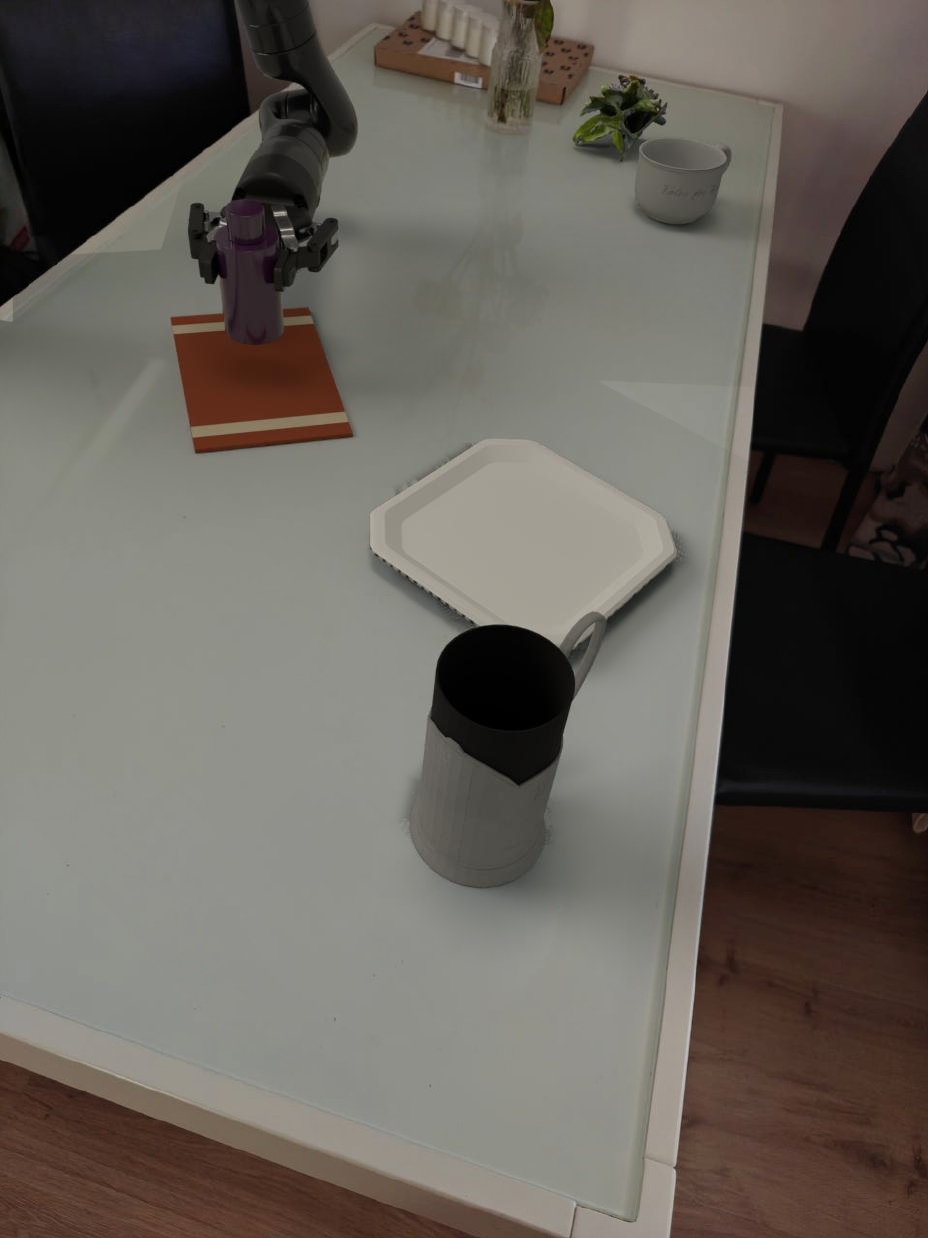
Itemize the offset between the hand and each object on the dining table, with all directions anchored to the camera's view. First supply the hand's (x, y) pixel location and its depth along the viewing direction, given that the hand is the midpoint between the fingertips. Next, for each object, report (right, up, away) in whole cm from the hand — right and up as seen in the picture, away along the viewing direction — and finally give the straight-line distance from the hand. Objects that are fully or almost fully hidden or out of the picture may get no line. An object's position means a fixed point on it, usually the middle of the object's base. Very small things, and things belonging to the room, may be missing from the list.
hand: (243, 277), depth 85 cm
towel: (-1, -6, +10) cm, 12 cm away
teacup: (+47, +23, +43) cm, 68 cm away
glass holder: (+22, -41, -20) cm, 51 cm away
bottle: (0, -3, +7) cm, 7 cm away
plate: (+24, -24, -4) cm, 34 cm away
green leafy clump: (+41, +37, +55) cm, 78 cm away
